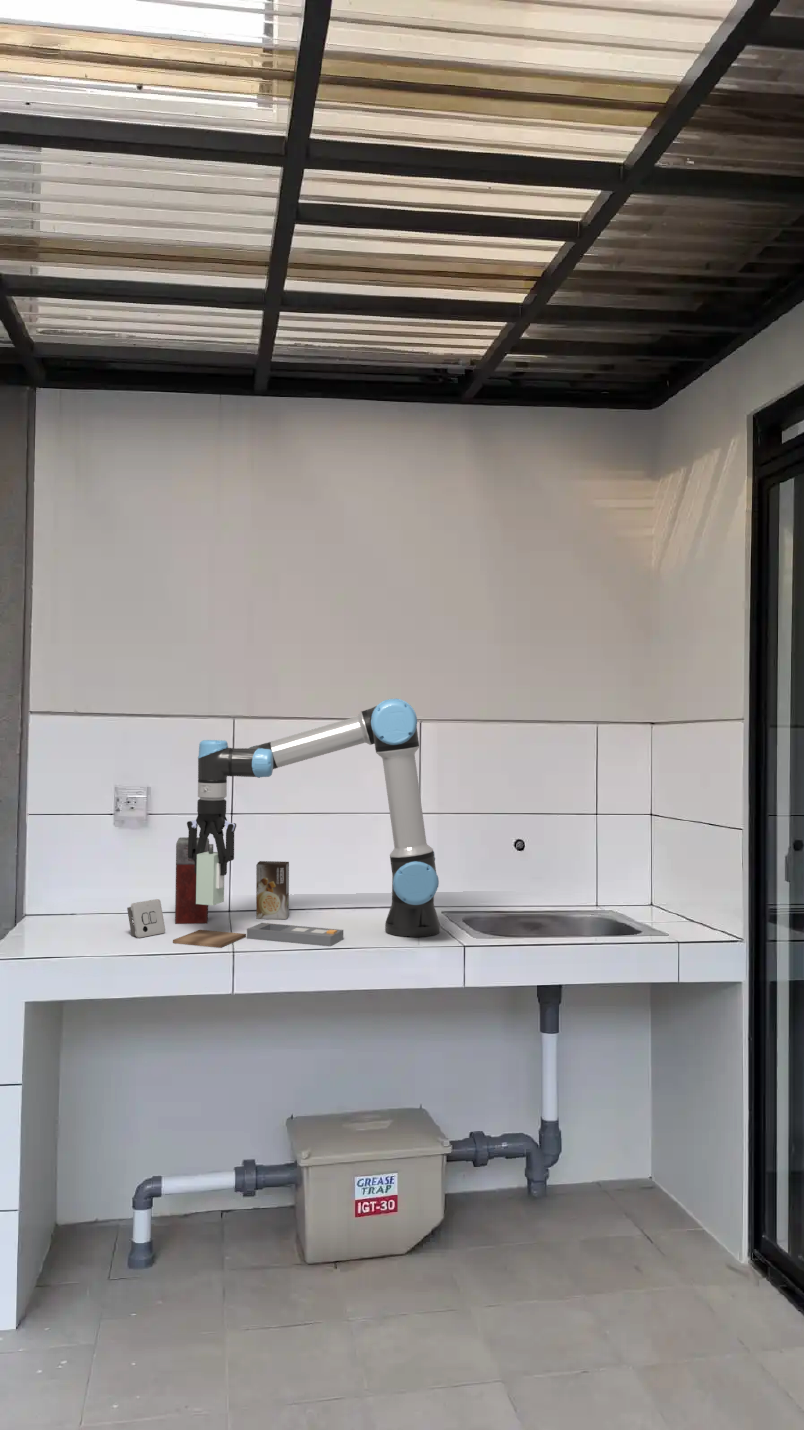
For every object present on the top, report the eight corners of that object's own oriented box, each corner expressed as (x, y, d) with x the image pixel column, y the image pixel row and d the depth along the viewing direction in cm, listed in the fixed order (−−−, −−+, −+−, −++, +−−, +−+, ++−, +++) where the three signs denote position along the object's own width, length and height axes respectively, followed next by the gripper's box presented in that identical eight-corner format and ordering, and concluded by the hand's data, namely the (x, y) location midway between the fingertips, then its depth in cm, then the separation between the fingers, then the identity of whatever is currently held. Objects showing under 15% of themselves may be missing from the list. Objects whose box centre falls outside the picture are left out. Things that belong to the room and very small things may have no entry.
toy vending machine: (215, 923, 309) (216, 824, 309) (175, 923, 307) (176, 824, 307) (216, 917, 318) (217, 821, 318) (176, 917, 316) (178, 821, 316)
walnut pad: (246, 936, 292) (246, 933, 292) (221, 947, 279) (221, 944, 279) (199, 932, 296) (199, 929, 296) (172, 943, 283) (172, 939, 283)
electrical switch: (137, 939, 288) (136, 903, 288) (125, 938, 291) (124, 903, 291) (166, 933, 295) (164, 899, 295) (154, 932, 298) (152, 898, 299)
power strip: (343, 939, 291) (343, 928, 291) (330, 946, 283) (330, 934, 283) (261, 931, 299) (261, 920, 299) (246, 938, 290) (247, 927, 290)
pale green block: (223, 901, 290) (225, 843, 289) (212, 905, 284) (214, 846, 284) (207, 900, 291) (208, 842, 291) (195, 903, 285) (197, 845, 285)
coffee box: (289, 915, 322) (290, 861, 322) (286, 919, 316) (287, 864, 316) (258, 914, 323) (259, 860, 322) (255, 919, 316) (255, 863, 316)
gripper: (174, 798, 287) (172, 886, 287) (236, 801, 281) (234, 891, 281) (188, 795, 294) (187, 882, 294) (249, 799, 288) (247, 887, 288)
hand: (210, 886), depth 287 cm, fingers closed on pale green block, 5 cm apart
